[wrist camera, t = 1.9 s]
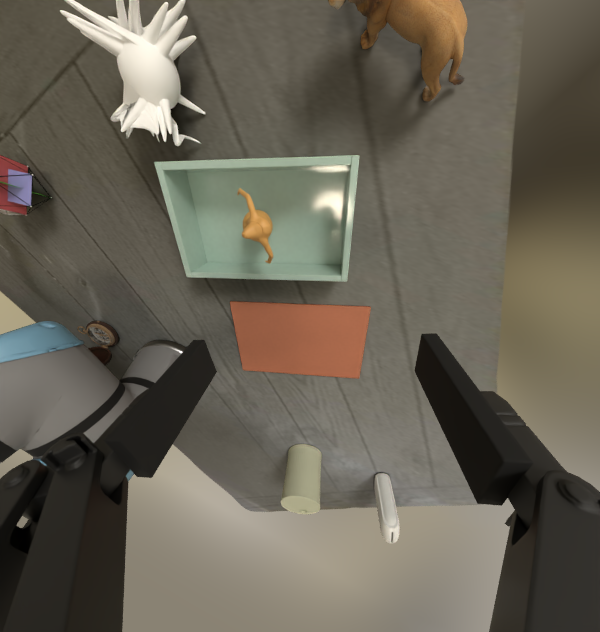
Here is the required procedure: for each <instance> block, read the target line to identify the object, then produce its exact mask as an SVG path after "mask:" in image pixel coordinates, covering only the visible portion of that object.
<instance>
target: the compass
mask: <svg viewBox="0 0 600 632" xmlns="http://www.w3.org/2000/svg"><path fill="white" fill-rule="evenodd" d="M79 327H81V326H79ZM79 327H78V331H79ZM82 328H83V327H82ZM83 329H85V328H83ZM79 332H80V331H79ZM83 332H86V333H87V334H88V336H89V337H90V338H91V339H92V340H93V341H94V342H95V343H97V344H99V345H103V346H102V347H92V348H88V349H89V350H90V351H91V352H92V353H93V354H94V355H95V356H96V357H97V358H98V359H99V360H100V361H101V362H102V363H103V364H104V365H106V364H108V363H109V362H110V360H111V358H112V354H111V352H110V350H109V349H108V347H111V346H114V345H115V344H117V342H118V339H119V338H118V335H117V333H116V331H115V330H114V329H113V328H112V327H111V326H110V325H108V324H106V323H104V322H101V321H92V322H90V323H89V324H88V325H87V326H86V329H85V330H83ZM80 333H82V332H80ZM86 333H82V334H86Z"/></svg>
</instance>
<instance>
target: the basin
mask: <svg viewBox="0 0 600 632" xmlns="http://www.w3.org/2000/svg"><path fill="white" fill-rule="evenodd" d="M154 164H155V167H156V171H157V174H158V178H159V181H160V185H161V188H162V192H163V195H164V199H165V202H166V206H167V209H168V213H169V216H170V220H171V223H172V227H173V230H174V234H175V237H176V241H177V244H178V248H179V251H180V255H181V258H182V262H183V266H184V269H185V273H186V276H187V277H193V278H230V279H267V280H304V281H343V282H347V278H348V268H349V258H350V248H351V237H352V227H353V217H354V207H355V196H356V186H357V176H358V166H359V155H352V156H351V155H348V156H318V157H288V158H257V159H227V160H197V161H167V162H154ZM239 188H241V189H242V190H243V191H245V192H246V193H248V194H249V195H250V197H251V199H252V201H253V204H254V207H255V210H261V211H264V212H265V213H267V214H268V215H269V217H270V218H271V221H272V225H273V229H272V233H271V235H270V236H269V238H268V242H269V245H270V247H271V250H272V252H273V258H272V261H271V263H270V264H269V263H266V262H265V261H268V257H269V255H268V254H267V252H266V250H265V248H264V247H263V245H262V244H261V243H260V242H257V241H253V240H251V239H246V238H243V237H242V232H243V219H244V217H245V215H246V214H247V213H248V212H249V209H248V205H247V201H246V199H245V197H243V196H242V195H241V194H240V193H239V195H238V193H237V192H238V190H239Z"/></svg>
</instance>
